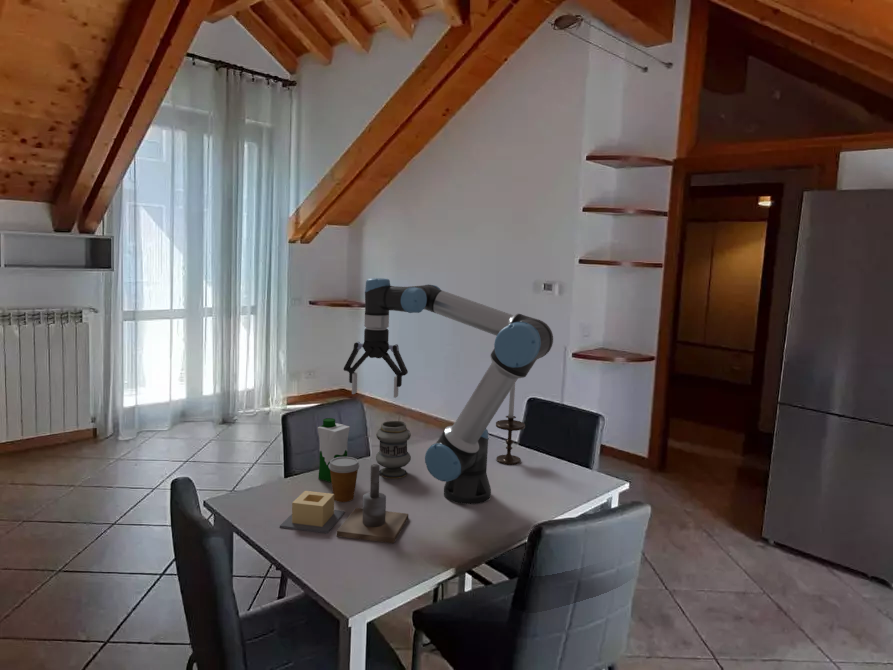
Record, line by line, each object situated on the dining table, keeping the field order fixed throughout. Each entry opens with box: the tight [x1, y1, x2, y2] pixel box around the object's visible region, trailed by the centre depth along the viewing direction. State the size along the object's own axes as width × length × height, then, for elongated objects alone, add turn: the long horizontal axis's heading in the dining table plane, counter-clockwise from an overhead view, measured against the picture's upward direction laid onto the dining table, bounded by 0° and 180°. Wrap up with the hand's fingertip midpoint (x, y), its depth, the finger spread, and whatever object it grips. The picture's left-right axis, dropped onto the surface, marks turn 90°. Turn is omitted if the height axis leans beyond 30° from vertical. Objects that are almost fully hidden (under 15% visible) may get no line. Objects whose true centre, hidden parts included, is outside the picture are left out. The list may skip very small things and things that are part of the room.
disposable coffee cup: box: [329, 456, 360, 503], centre depth 197 cm, size 10×10×12 cm
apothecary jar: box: [375, 420, 412, 480], centre depth 220 cm, size 12×12×18 cm
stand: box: [336, 463, 409, 544], centre depth 178 cm, size 16×16×18 cm
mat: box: [279, 509, 346, 534], centre depth 182 cm, size 14×14×1 cm
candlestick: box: [495, 383, 526, 466], centre depth 236 cm, size 11×11×35 cm
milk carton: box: [317, 417, 351, 484], centre depth 213 cm, size 9×9×20 cm
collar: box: [291, 490, 335, 527], centre depth 182 cm, size 9×9×6 cm
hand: (375, 395), depth 200 cm, fingers open, 13 cm apart
